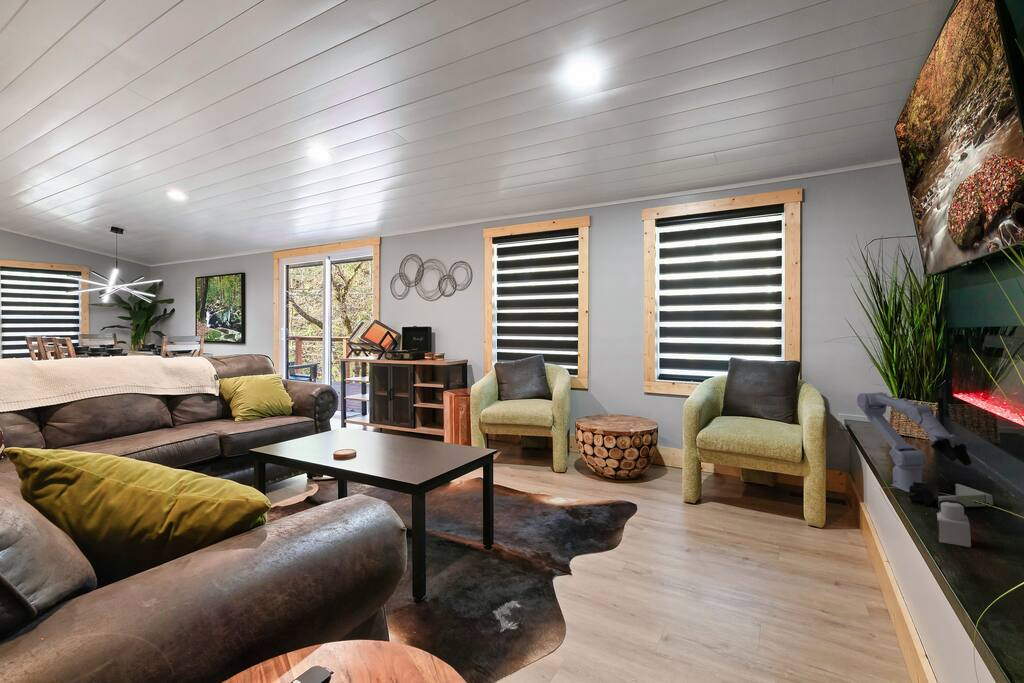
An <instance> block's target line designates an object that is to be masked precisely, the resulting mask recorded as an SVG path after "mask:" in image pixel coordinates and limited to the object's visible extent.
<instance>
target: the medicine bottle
mask: <svg viewBox="0 0 1024 683" xmlns="http://www.w3.org/2000/svg"><path fill="white" fill-rule="evenodd" d="M938 509H939V510H938V512H936V525H937V536H938V542H939V543H942V544H943V543H944V544H950V545H953V546H955V545H956V546H961V547H966V548H971V546H972V542H971V541H972V540H971V539H972V538H971V524H970V522H969V518H968V516H967V513H966V509H967V508H966V507H965V505H964V504H962V503H960V502H958V501H953V500H942V501H940V502H939V507H938Z"/></svg>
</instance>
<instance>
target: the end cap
mask: <svg viewBox="0 0 1024 683" xmlns="http://www.w3.org/2000/svg"><path fill="white" fill-rule="evenodd" d="M913 485H914V486H913ZM913 485H911V486H910V487H909V491H910V492H909V493H913V495H909V500H910V504H912V505H917V506H926V507H927V506H929V505H931V504H932V503H933V502H934V501H935V500H936V499H937V498H938V496H939V494H940V491H939V488H938V486H937V485H936V484H935V483H932V482H930V481H927V482H926V483H925V482H922V483H918V482H913Z"/></svg>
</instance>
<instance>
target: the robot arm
mask: <svg viewBox="0 0 1024 683" xmlns="http://www.w3.org/2000/svg"><path fill="white" fill-rule="evenodd" d="M856 401H857V402H856V403H857V406H858V407H859V409H860V410H861V411H862V412H863V414H864V415H865V416H866V418H867V420H868V421H869V422H870V423H871V424H872V426H873V427H874V428H875V430H876V431H877V432H878V433H879V434H880V435H881V436H882V438H883V439H884V441H886V443H887V444H888V445H889V446H890V448H891V449H890V451H889V455H890V456H891V458H892V461H893V463H894V464H895V466H893V469H892V482H893V483H891V486H892V487H895V488H897V489H900V490H901V491H902V490H903V491H904V492H907V493H911V492H910V491H909V487H910V486H911V485H913V482H918V483H923V475H922V474H923V473H922V469H923V468H924V466H925V465H926V464H927V461H928V460H927V459H928V458H927V455H926V454H925V453H924V452H923V451H922V450H920V449H919V448H918V447H917V446H916V445H913V444H911V443H907V442H906V441H905V439H904V438H903V437H902V436H901V434H900V433H899V432H898V431H897V429H895V428H894V427H893V425H891V423H890V421H888V420H887V419H886V417H885V415H884V414H886V412H887V408H888V407H891V408H893V409H894V411H896V412H897V413H900V414H902V415H905V416H907V417H908V419H909V420H911V421H912V422H915V424H916V425H919V427H920V428H921V429H922V430H923V431H924V432H925V433H926V435H927V436H928V439H929V441H930V442H931V443H932V444H931V445H930V446H931V448H932V449H934V450H936V451H937V452H939V453H941V454H942V455H943V456H945V457H946V458H947V459H948V460H950V461H951V462H955V461H956V460H958V461H960V463H962V465H964V466H969V465H971V464H972V463H973V462H972V459H971V457H970V456H969V454H968V450H967V445H966V444H965V443H962V442H961V443H958V441H957V440H956V439H955V438H957V435H956V434H954V433H952V434H950V432H948V431H947V429H946V428H945V427H944V426H943V425H942V424H941V422H940V421H939V420H938V419H937V418H936V416H934V415H935V412H934V409H933V408H932V407H931V406H930V405H928V404H927V403H926V404H919V403H918V402H914V401H910V400H909V399H908V398H906V397H905V398H899V399H897V398H895V397H892V396H890V395H888V393H886V392H883V391H881V392H880V391H879V392H870V393H869V392H868V393H867V392H866V393H865V392H864V393H858V396H857V399H856ZM913 486H914V485H913Z"/></svg>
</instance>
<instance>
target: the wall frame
mask: <svg viewBox="0 0 1024 683" xmlns="http://www.w3.org/2000/svg"><path fill="white" fill-rule="evenodd" d="M971 494H984V495H985V503H989V504H991V505H993V506H994V502H993V494H990V493H987V492H984V491H981V490H978V489H975V488H972V487H969V486H966V485H963V484H959V483H955V495H971ZM942 500H953V501H955V497H954V495H938V496H937V504H938V505H937V506H938V508H939V502H940V501H942ZM984 507H991V506H987V505H985V506H984Z"/></svg>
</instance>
